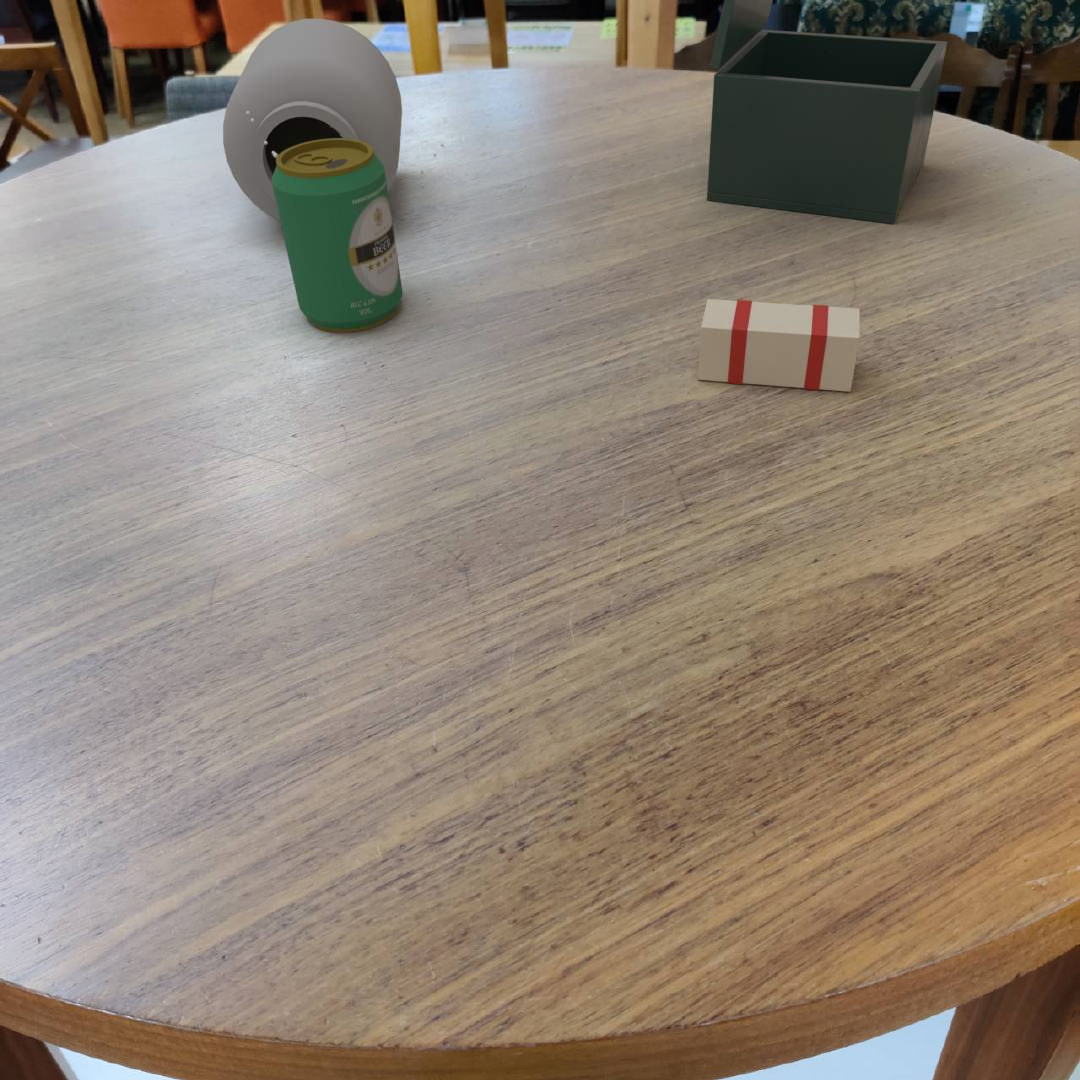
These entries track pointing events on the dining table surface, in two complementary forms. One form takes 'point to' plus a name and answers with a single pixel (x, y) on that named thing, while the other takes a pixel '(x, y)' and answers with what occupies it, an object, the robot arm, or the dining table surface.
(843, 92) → the bin
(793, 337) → the red striped parcel
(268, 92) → the jar
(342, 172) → the beverage can
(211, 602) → the dining table surface
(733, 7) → the bin lid
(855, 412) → the dining table surface
